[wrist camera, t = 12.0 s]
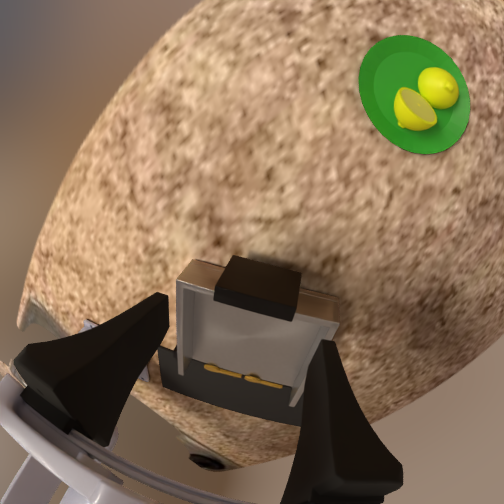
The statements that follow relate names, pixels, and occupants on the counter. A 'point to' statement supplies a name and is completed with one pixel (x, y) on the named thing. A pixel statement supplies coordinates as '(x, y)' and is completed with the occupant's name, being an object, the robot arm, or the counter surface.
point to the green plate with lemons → (414, 94)
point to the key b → (262, 382)
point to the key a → (221, 371)
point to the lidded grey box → (252, 320)
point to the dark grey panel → (229, 390)
